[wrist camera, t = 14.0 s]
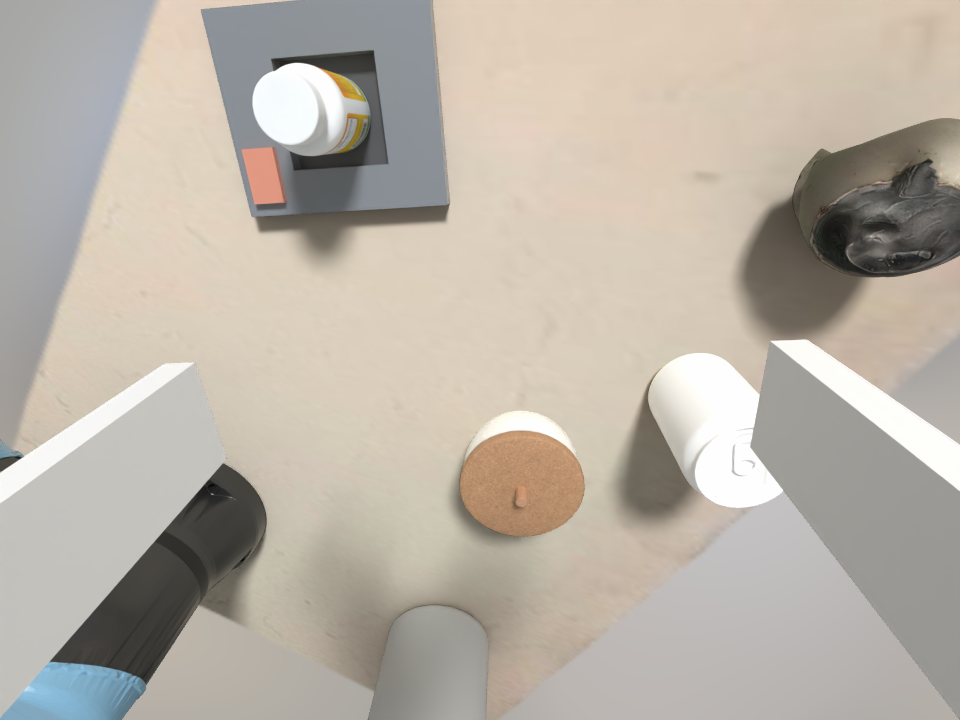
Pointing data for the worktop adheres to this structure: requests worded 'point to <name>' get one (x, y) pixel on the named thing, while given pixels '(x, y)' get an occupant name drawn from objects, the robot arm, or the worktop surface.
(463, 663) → the cylinder vase
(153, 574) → the robot arm
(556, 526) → the lidded jar
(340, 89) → the supplement bottle
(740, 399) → the beverage can
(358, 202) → the socket plate
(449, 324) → the worktop surface
